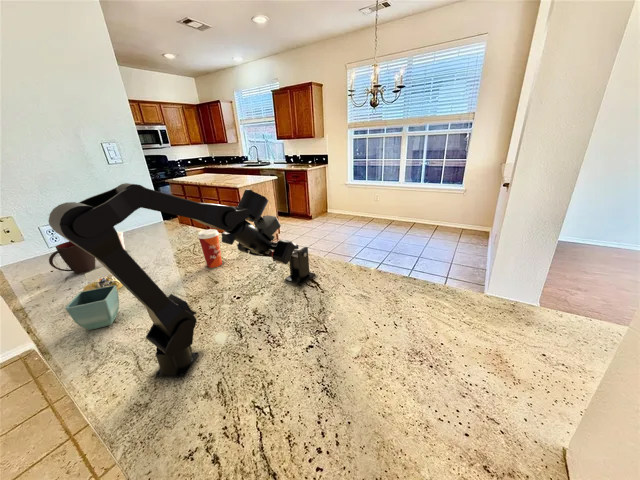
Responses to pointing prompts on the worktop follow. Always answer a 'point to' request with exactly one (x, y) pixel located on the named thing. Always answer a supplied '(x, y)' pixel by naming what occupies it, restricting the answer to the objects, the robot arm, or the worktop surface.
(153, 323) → the robot arm
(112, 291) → the flower pot
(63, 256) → the mug
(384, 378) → the worktop surface
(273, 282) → the worktop surface
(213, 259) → the paper cup
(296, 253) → the tap lever
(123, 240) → the smoothie
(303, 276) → the tap bracket
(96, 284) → the cake
